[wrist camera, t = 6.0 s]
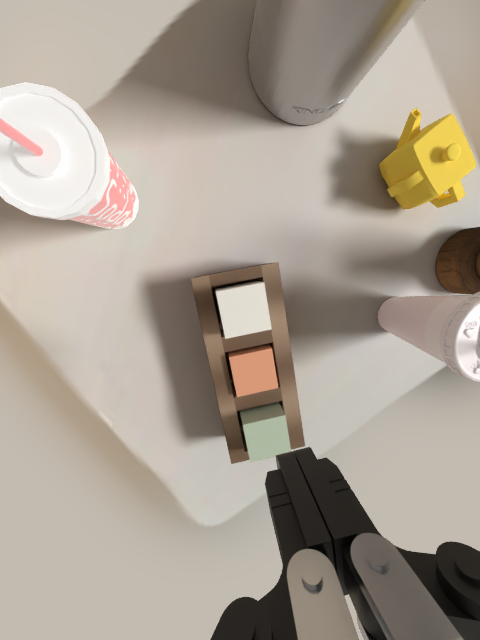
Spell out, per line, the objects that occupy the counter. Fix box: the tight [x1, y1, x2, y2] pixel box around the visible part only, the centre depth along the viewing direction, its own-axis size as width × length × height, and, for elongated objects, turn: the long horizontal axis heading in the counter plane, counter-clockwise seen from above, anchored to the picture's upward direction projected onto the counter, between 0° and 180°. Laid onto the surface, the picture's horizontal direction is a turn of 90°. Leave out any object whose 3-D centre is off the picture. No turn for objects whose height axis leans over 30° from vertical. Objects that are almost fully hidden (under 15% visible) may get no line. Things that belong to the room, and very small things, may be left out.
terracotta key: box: [228, 343, 278, 397], centre depth 22 cm, size 4×4×3 cm
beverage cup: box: [0, 82, 139, 230], centre depth 14 cm, size 6×6×14 cm
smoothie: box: [378, 292, 480, 382], centre depth 19 cm, size 6×6×14 cm
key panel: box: [191, 262, 305, 464], centre depth 23 cm, size 17×7×4 cm, turn 11°
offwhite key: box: [215, 281, 272, 339], centre depth 20 cm, size 4×4×3 cm
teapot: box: [379, 108, 476, 209], centre depth 21 cm, size 8×6×5 cm
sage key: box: [240, 402, 291, 462], centre depth 22 cm, size 4×4×3 cm
